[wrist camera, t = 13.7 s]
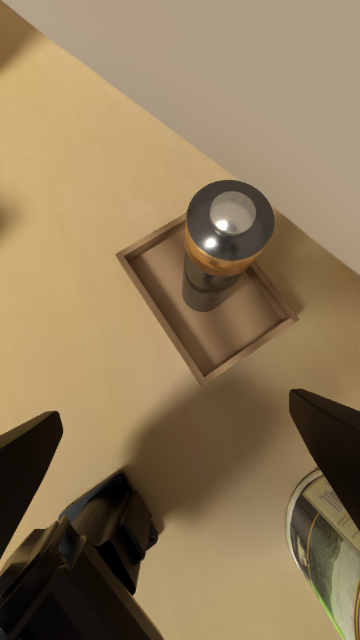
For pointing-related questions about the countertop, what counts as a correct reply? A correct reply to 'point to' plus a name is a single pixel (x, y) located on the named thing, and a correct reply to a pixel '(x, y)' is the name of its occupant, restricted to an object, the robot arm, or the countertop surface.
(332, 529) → the coffee can
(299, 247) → the countertop surface
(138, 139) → the countertop surface
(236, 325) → the walnut tray
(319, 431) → the robot arm
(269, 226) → the battery cell
